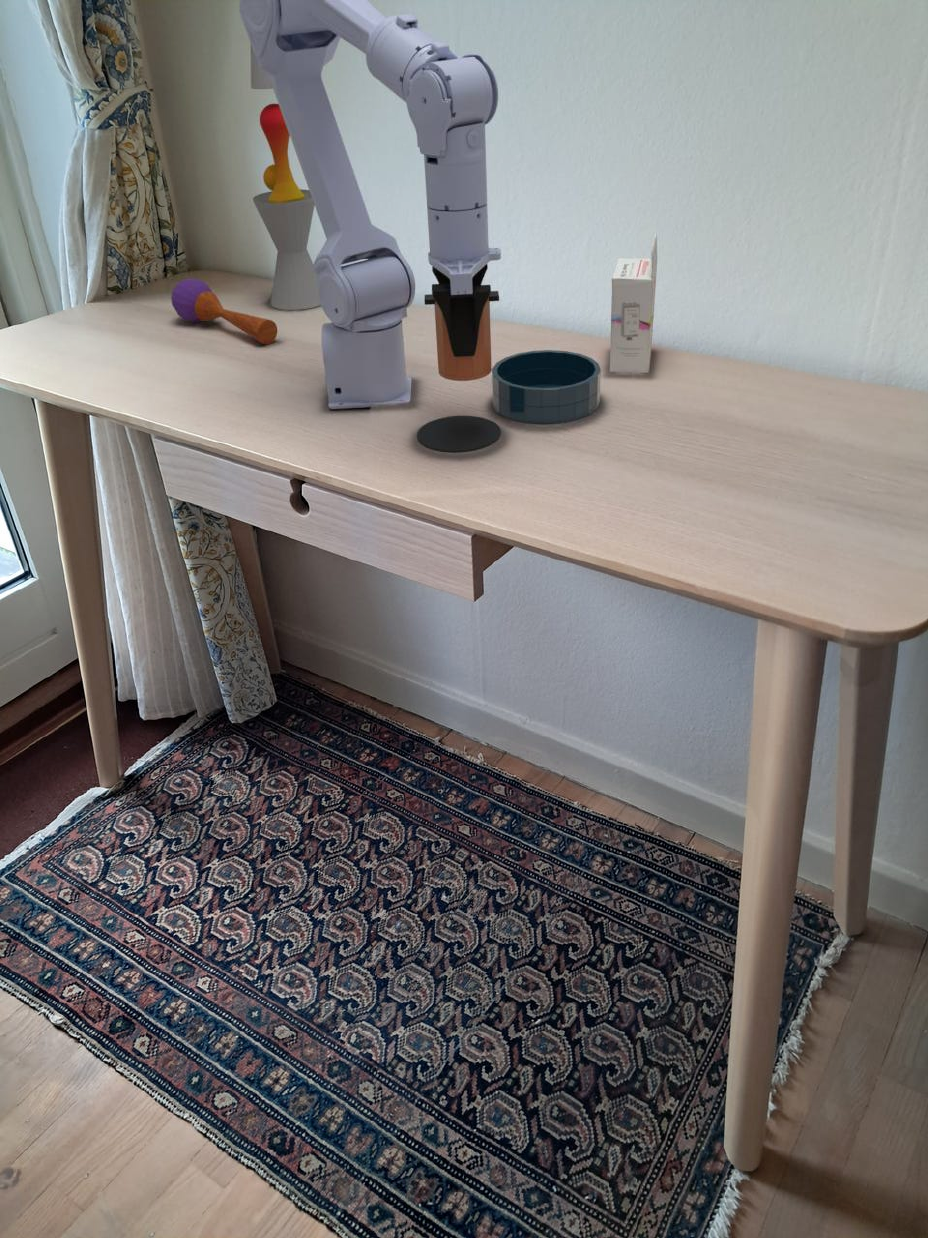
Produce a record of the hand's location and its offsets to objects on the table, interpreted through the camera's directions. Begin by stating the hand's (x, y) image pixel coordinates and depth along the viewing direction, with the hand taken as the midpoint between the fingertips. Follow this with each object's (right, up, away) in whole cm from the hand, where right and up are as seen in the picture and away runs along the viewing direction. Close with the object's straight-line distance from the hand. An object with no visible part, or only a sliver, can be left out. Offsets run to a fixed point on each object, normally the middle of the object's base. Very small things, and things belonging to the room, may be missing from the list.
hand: (463, 344), depth 101 cm
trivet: (0, -9, +5) cm, 10 cm away
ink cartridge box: (+21, +3, +21) cm, 30 cm away
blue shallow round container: (+9, -4, +11) cm, 15 cm away
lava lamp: (-25, +20, +49) cm, 58 cm away
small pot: (0, -2, +2) cm, 3 cm away
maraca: (-34, +13, +39) cm, 53 cm away
